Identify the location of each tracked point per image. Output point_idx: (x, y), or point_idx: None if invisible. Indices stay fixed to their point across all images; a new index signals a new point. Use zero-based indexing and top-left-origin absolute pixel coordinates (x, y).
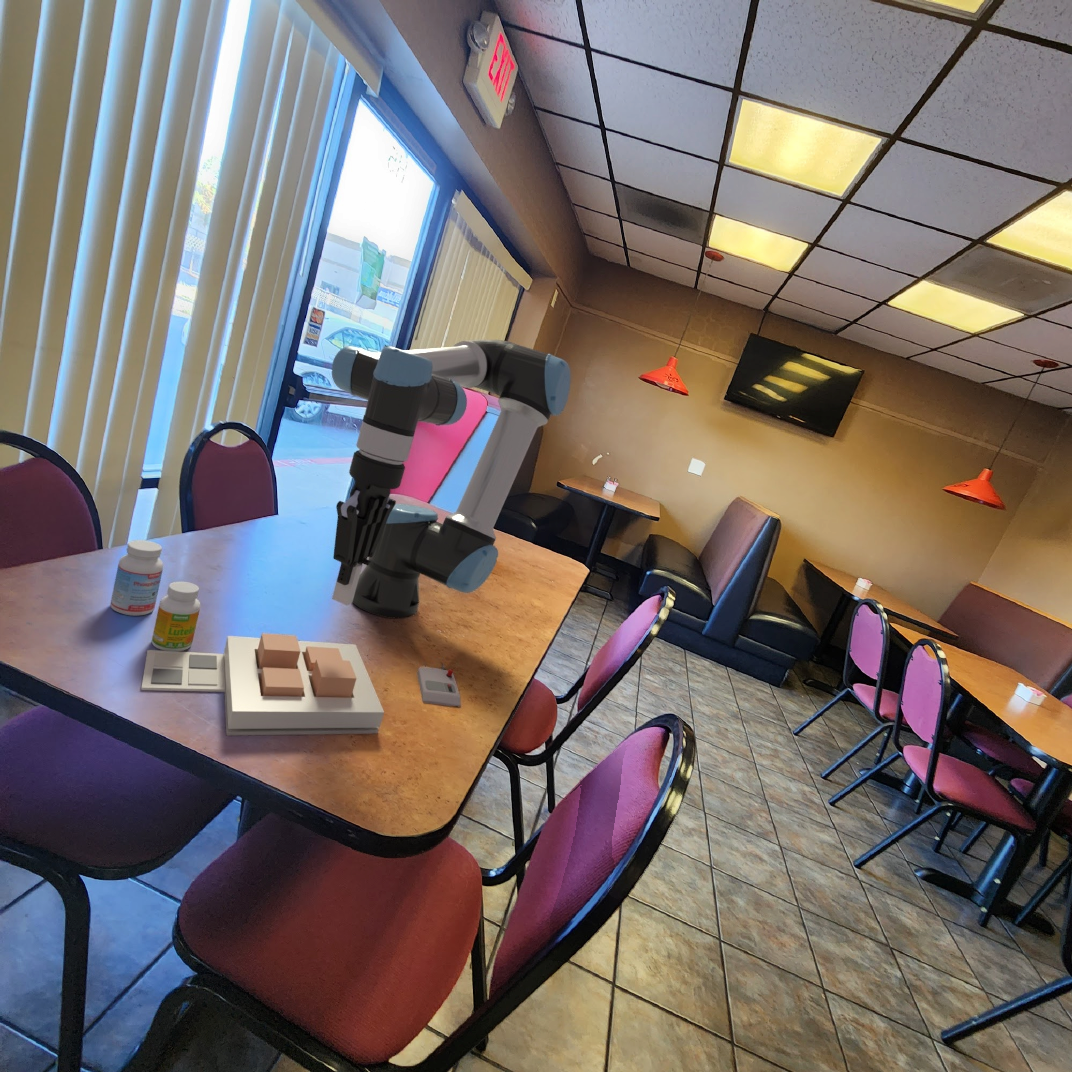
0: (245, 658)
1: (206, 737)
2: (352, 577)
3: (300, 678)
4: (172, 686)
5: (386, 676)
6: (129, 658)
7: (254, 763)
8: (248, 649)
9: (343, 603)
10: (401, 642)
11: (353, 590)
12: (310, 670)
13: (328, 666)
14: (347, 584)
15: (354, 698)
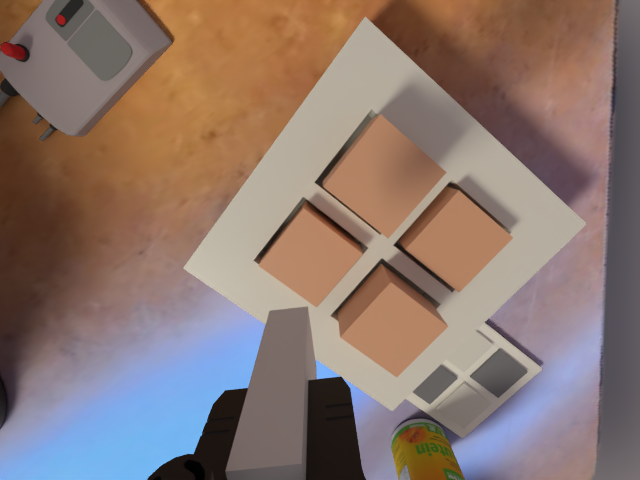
0: None
1: None
2: (306, 402)
3: (434, 220)
4: (511, 350)
5: (167, 171)
6: (489, 432)
7: (582, 131)
8: None
9: (309, 321)
10: (15, 248)
11: (278, 344)
12: (358, 246)
13: (391, 197)
14: (309, 381)
15: (374, 106)
